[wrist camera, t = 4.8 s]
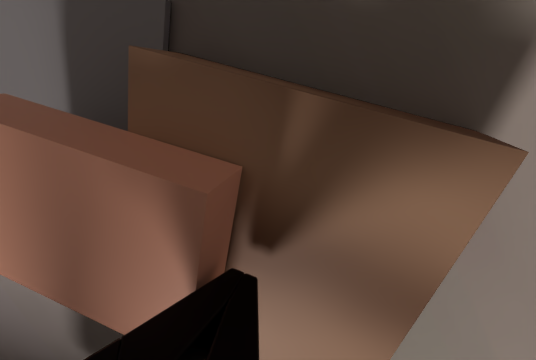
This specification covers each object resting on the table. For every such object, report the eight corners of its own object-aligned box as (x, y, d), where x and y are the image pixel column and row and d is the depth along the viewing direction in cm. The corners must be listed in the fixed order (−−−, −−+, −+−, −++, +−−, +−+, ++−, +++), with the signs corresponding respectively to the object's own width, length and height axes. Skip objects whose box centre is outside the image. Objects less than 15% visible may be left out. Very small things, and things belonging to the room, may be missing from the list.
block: (242, 166, 7) (207, 194, 6) (217, 313, 10) (186, 365, 8) (4, 93, 9) (-79, 96, 7) (32, 233, 12) (-26, 261, 10)
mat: (151, 295, 15) (148, 299, 14) (-3, 228, 16) (-9, 230, 16) (171, 1, 9) (165, -1, 9) (-69, -54, 11) (-80, -58, 10)
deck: (348, 357, 12) (349, 419, 10) (161, 278, 14) (125, 317, 12) (477, 131, 8) (528, 152, 6) (180, 52, 10) (128, 44, 7)
